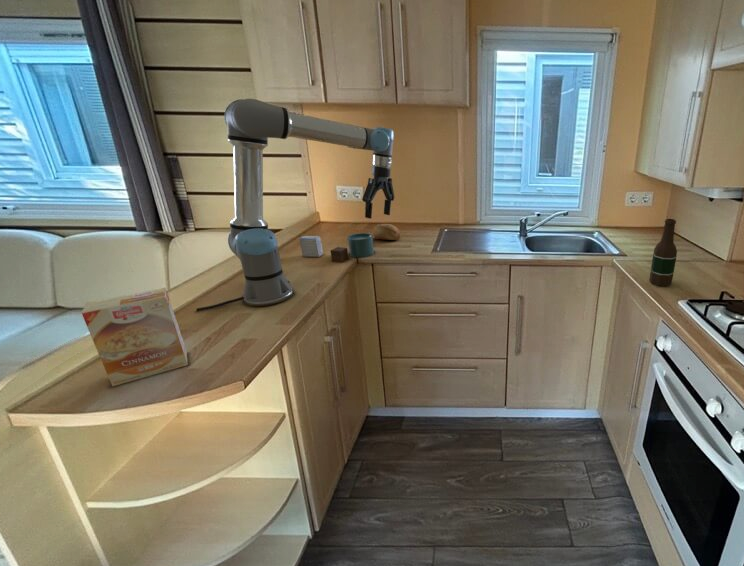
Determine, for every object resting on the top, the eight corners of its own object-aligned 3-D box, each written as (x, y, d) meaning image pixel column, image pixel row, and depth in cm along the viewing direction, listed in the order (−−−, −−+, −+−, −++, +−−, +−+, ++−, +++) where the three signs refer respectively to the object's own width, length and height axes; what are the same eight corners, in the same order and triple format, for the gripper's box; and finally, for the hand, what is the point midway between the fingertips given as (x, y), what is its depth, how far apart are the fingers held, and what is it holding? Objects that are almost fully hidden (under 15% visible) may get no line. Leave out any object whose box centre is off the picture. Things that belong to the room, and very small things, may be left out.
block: (330, 250, 175) (332, 261, 177) (339, 251, 173) (341, 262, 175) (337, 246, 179) (339, 257, 181) (347, 247, 178) (348, 258, 179)
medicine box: (323, 254, 186) (320, 235, 182) (319, 257, 182) (315, 238, 178) (307, 253, 186) (304, 235, 183) (302, 256, 182) (298, 238, 179)
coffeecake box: (111, 387, 95) (79, 313, 87) (114, 373, 100) (85, 301, 93) (188, 365, 103) (165, 295, 95) (187, 353, 108) (165, 286, 101)
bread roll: (395, 243, 201) (394, 227, 198) (369, 240, 205) (367, 225, 202) (404, 238, 209) (403, 223, 206) (379, 235, 213) (377, 221, 210)
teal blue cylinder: (350, 258, 180) (347, 240, 177) (349, 251, 189) (347, 234, 186) (375, 255, 183) (373, 238, 180) (373, 248, 192) (371, 232, 189)
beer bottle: (672, 281, 152) (684, 218, 143) (669, 288, 145) (681, 223, 136) (651, 277, 155) (660, 216, 146) (647, 284, 149) (657, 220, 140)
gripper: (371, 168, 157) (367, 221, 164) (405, 168, 179) (400, 215, 186) (355, 164, 159) (352, 217, 166) (390, 165, 182) (386, 211, 188)
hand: (377, 216), depth 176 cm, fingers open, 13 cm apart
